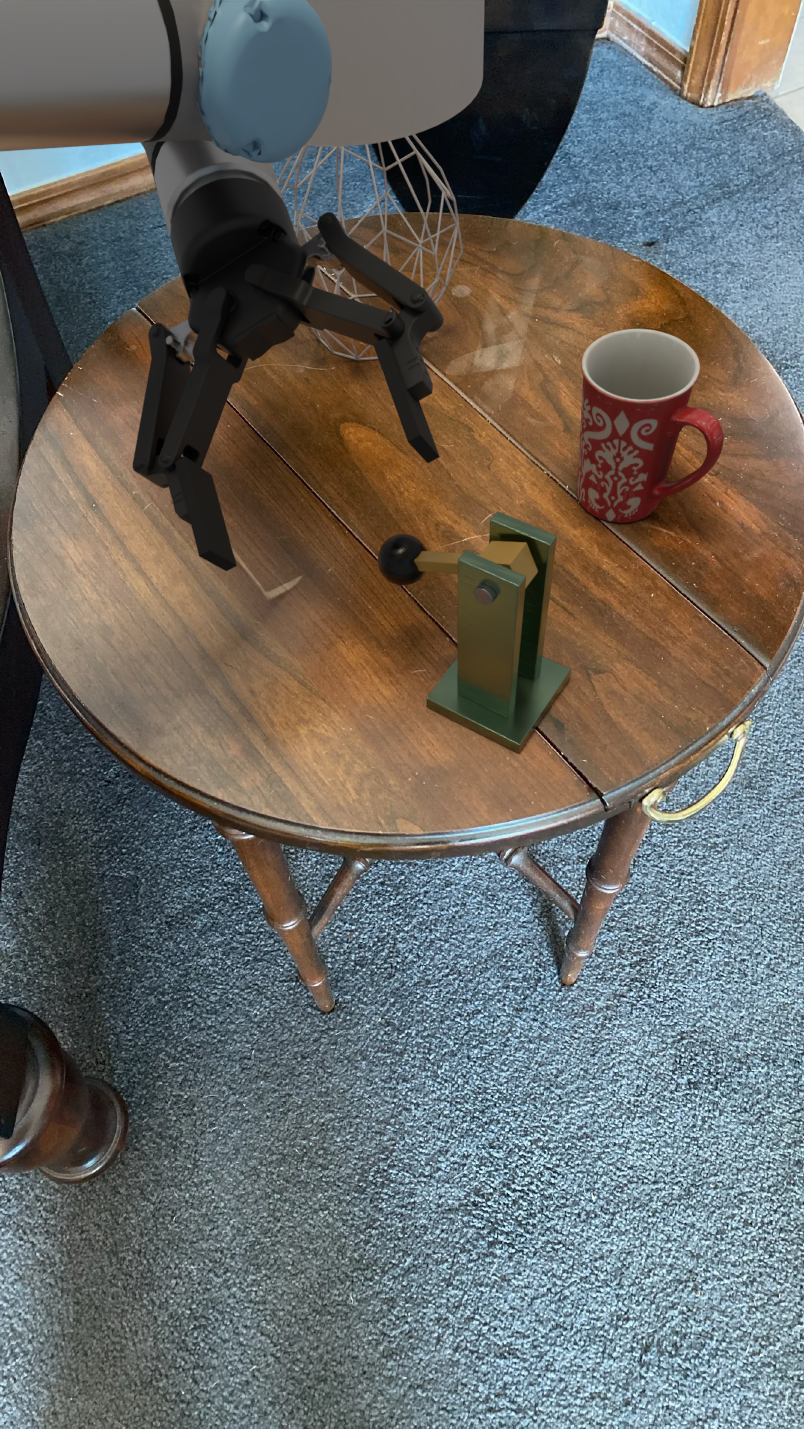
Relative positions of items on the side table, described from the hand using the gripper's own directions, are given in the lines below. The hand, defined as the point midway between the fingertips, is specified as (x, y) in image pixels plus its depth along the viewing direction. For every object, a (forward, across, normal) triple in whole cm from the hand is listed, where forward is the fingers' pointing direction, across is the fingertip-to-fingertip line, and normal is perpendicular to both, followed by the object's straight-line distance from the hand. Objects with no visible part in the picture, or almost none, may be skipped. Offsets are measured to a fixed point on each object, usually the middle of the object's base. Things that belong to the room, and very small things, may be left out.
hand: (317, 508), depth 54 cm
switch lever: (+1, -3, -15) cm, 16 cm away
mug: (-9, -14, -36) cm, 40 cm away
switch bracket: (+6, 0, -25) cm, 25 cm away
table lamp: (-41, +2, -37) cm, 55 cm away
